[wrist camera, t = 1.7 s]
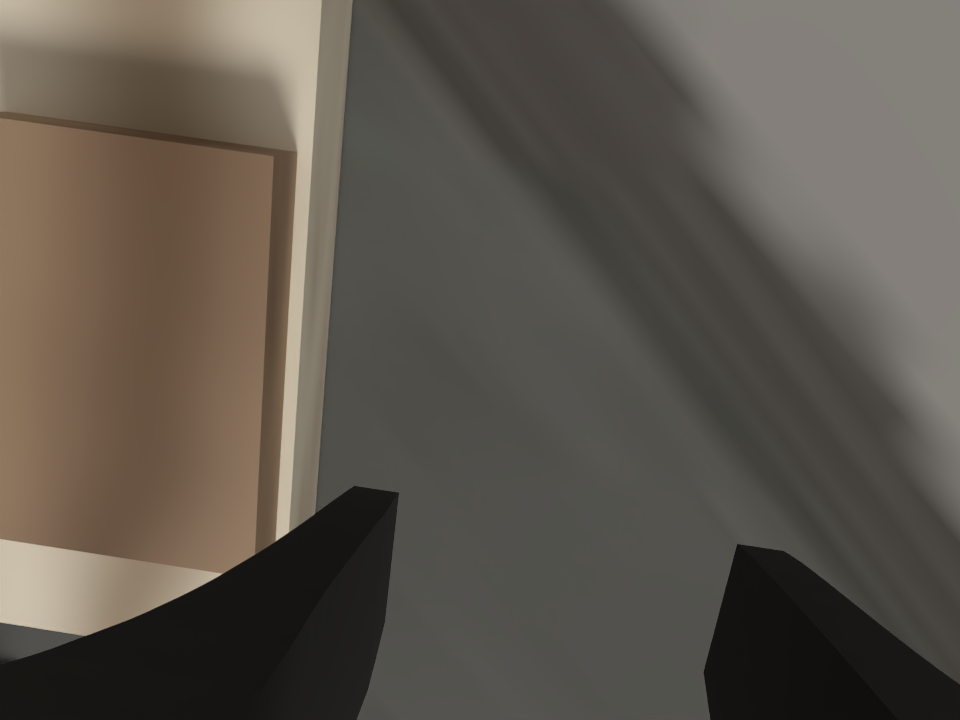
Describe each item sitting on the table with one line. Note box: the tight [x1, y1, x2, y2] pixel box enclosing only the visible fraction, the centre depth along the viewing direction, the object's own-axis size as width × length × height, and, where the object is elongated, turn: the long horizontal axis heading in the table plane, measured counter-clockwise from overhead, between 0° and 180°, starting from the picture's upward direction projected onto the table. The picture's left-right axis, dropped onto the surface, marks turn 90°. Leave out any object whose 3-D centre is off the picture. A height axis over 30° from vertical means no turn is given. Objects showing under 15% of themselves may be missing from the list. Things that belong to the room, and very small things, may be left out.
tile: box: [0, 112, 298, 574], centre depth 17 cm, size 6×9×2 cm, turn 173°
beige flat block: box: [0, 0, 353, 636], centre depth 19 cm, size 8×16×2 cm, turn 173°
